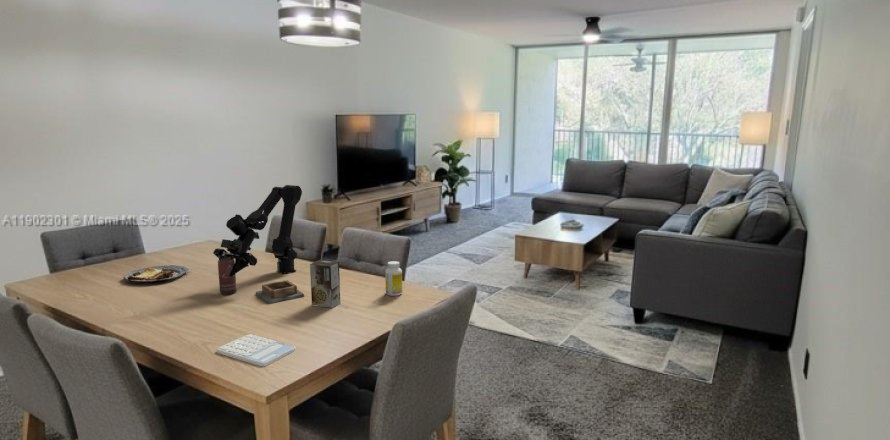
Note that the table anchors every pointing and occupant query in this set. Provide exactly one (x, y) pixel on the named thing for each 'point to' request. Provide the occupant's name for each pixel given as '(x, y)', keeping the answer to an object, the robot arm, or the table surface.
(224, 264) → the can
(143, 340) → the table surface
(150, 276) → the food plate
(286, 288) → the collar
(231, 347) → the calculator
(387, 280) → the supplement bottle
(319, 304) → the coffee box
